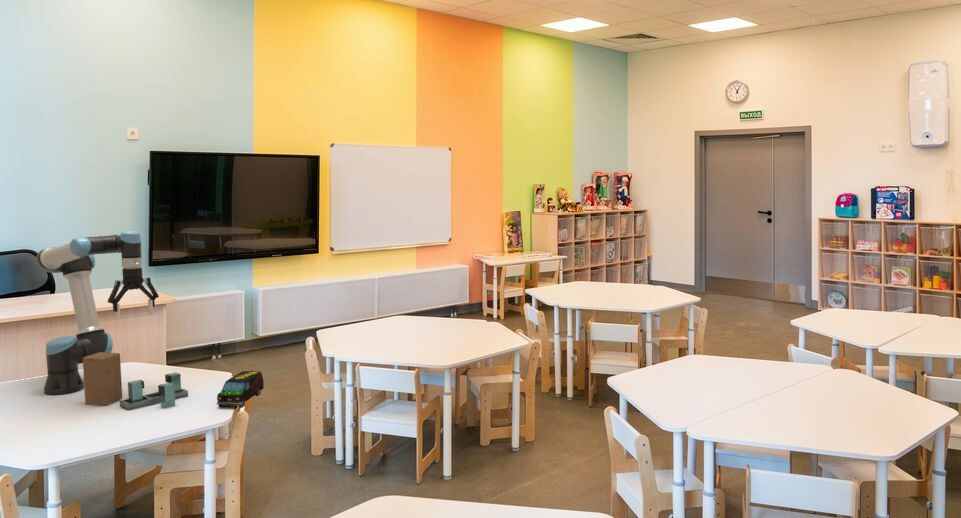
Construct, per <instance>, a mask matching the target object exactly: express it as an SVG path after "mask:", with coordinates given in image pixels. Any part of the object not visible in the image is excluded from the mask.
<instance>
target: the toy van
mask: <svg viewBox="0 0 961 518" xmlns="http://www.w3.org/2000/svg"><path fill="white" fill-rule="evenodd" d="M263 377H264V376H263V373H262V371H258V370H257V371H256V370H247V371H245V370H244V371H241V372H239V373H237V374H235V375H233V376H232V377H230V378H228V379H227V380H225V382H224V384H223V386H222V389H221V390H220V392H218V393H217V396H216V400H217V402H216V405H217V406H218V407H219V408H223V407H224V406H230V407H231V406H238V407H239V408H240V409H242V408H244V407H246V402H247V401H249V400H251V399H252V398H253V397H254V396H255V397H259V396H260V395H261V393H262V391H263V390H264V389H265V386H264V378H263ZM223 405H224V406H223ZM222 406H223V407H222Z"/></svg>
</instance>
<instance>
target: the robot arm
mask: <svg viewBox="0 0 961 518" xmlns="http://www.w3.org/2000/svg"><path fill="white" fill-rule="evenodd" d="M115 253H117V254H118V253H119V254H121V267H122V270H121V271H122V279H121V280H118V279H116V280H114V285H113V288H112V291H110V292H111V293H110V295H109V297H108V300H107V303H109V304H112V311H113V312H114V313H115V320H121V307H120V306H121V305H120V303H119V302H120V300H122V298H123V297H124V295H125V294H126V293H127V292H128V291H129V290H130V291H131V290H133V291H134V290H140V291H141V292H142V293H144V295H146V297H148V298H149V299H147V306H148V307H147V308H148V309H147V310H148V315H149V316H153V315H154V308H155V305H156V304H155V300H156V299H158V298H159V297H160V295H159V294H158V292H157V290H156V289H155V287H154V286H153V284H152V281H151V277H148V276H146V277H143V268H142V266H143V265H142V264H143V261H142V239H141V232H140V231H137V230H135V231H134V230H130V231H129V230H128V231H127V230H126V231H121V232H120V235H118V234H111V235H101V236H79V237H74V238H72V240H71V241H70V242H69V243H65V244H62V245H60V246H57V247H46V248H44V249H41V250H40V251H39V252H38V253H37V255H36V257H35V262H36V265H37V266H38V268H39V269H40V270H42V271H44V272H46V273H50V274H55V273H56V274H58V273H59V274H60V273H62V276H63V278H64V279H66V281H67V282H68V287H69V291H70V295H71V300H72V306H73V310H74V314H75V321H76V323H77V328H78V329H77V332H76V333H75V335H65V336H59V337H56V338H52V339H51V340H49V341H47V343H46V344H45V355H46V356H45V357H46V369H47V376H46V380H45V383H44V386H43V393H44V394H45V395H50V396H52V395H53V396H56V395H58V396H60V395H66V394H73V393H75V392H79V391H82V389H85V388H84V380H83V379H82V377H81V375H80V372H79V364H83V357H86V356H89V355H93V354H96V353H99V352H107V353H112V351H113V347H114V342H113V337H112V336H111V334H110V333H108V332H106V331H105V328H103V326H100V322H99V317H98V313H97V307H96V302H95V299H94V293H93V288H92V284H91V279H90V275H92V273H93V271H92V270H93V269H94V268H95V266H96V264H95V263H96V257H95V255H104V254H115ZM143 283H145V284H146V286H147V288H148V289H149V290H148V289H147V288H146V287H145V286H144V285H143ZM122 285H123V286H122ZM121 286H122V288H121V290H120V287H121ZM119 290H120V291H119ZM117 293H118V294H117Z"/></svg>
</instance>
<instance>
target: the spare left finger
mask: <svg viewBox="0 0 961 518" xmlns="http://www.w3.org/2000/svg"><path fill="white" fill-rule="evenodd" d="M157 392H159V393H160V394H161V403H160V406H161V407H163V408H165V409H167V408H170V407H174V406H175V407H176V399H175V391H174V384H172V383H167V382H165V383H162V384H161V383H160V384H159V385H157Z"/></svg>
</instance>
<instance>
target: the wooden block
mask: <svg viewBox="0 0 961 518" xmlns="http://www.w3.org/2000/svg"><path fill="white" fill-rule="evenodd" d="M121 364H122V363H121V354H120V353H119V352H111V353H107V352H99V353H96V354H93V355H89V356H86V357H83V363H82V367H83V384H84V388H83V389H84V401H85V402H84V403H85V405H95V406H107V405H110V404H113V403H115V402H117V401H120V400H123V387H122V386H123V384H122V382H123V381H122V367H121V366H122V365H121Z"/></svg>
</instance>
